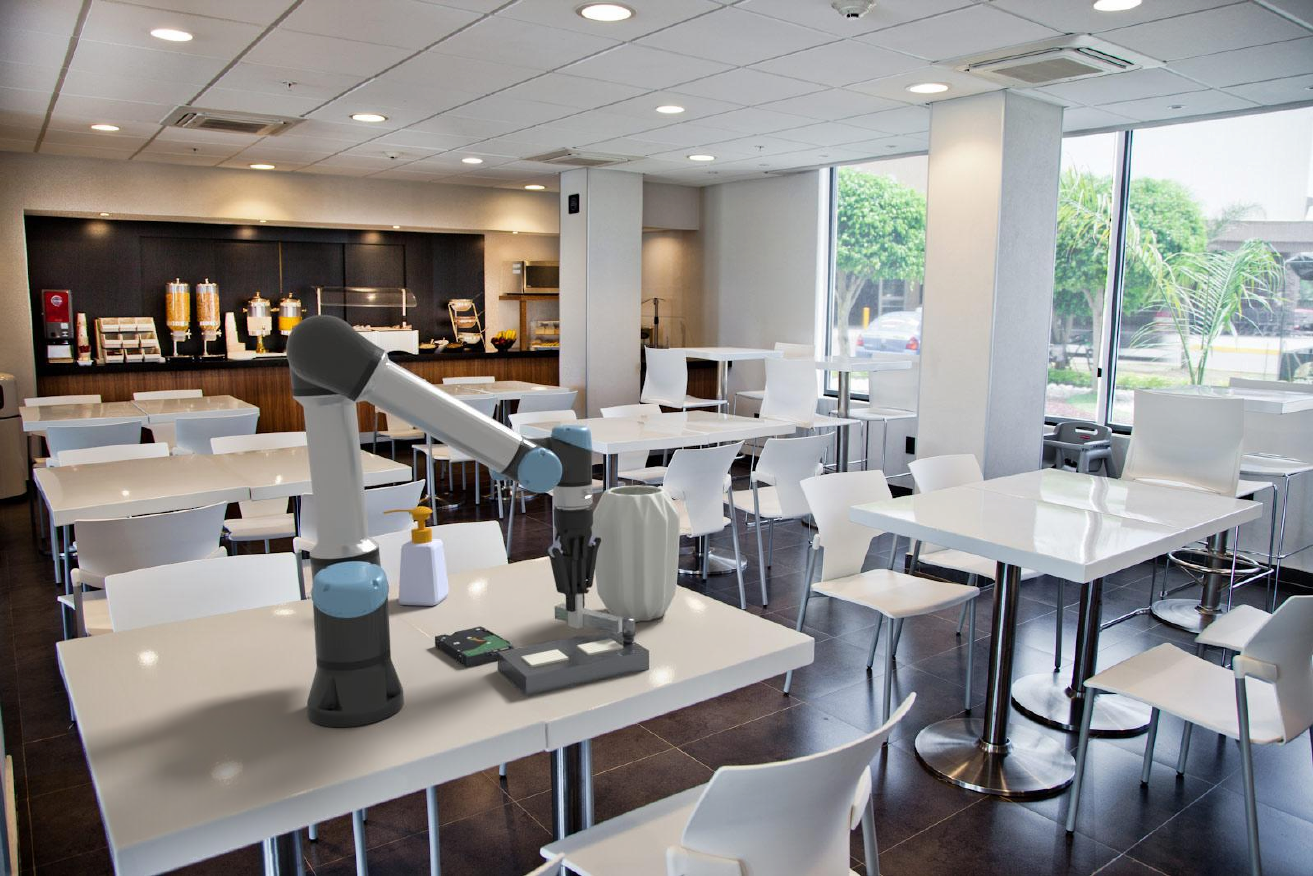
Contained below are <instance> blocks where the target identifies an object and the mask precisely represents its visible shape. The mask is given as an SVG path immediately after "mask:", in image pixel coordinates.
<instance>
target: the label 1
mask: <svg viewBox="0 0 1313 876" xmlns="http://www.w3.org/2000/svg"><path fill="white" fill-rule="evenodd" d="M521 659H522V660H524V661H525V662H526V663H527V664H528V665H530V666H531V667H536V666H541V665H545V664H550V663H555V662H560V661H565V660H569V658H568V657H567V656H566V655H564V654H563V653H562V652H560V651H559V650H557V649H556V650H551V651H546V652H541V653H536V654H531V655H526V656H521Z"/></svg>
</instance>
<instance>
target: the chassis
mask: <svg viewBox="0 0 1313 876" xmlns="http://www.w3.org/2000/svg"><path fill="white" fill-rule="evenodd" d="M606 639H612V640H614V641H615V642H617V643H619V644H620V645H622V646H623V649H618V650H613V651H609V652H604V653H599V654H594V655H587V654H586V653H584V652H583V651H582V650H580V649H579V648H577V645H581V644H586V643H591V642H596V641H601V640H606ZM514 648H515V647H514ZM556 649H557V650H559V651H560V652H562V653H563V654H564V655H566V656H567V657H568V658H569V660H565V661H560V662H555V663H550V664H545V665H541V666H536V667H531V666H530V665H528V664H527V663H526V662H525V661H524V660H522V659H521V656H526V655H531V654H536V653H541V652H546V651H551V650H556ZM497 659H498V660H497V671H498V672H499V673H500V674H501V675H503V676H504V677H505V678H506V680H508V681H509V682H510V683H511V684H512V685H513V686H514V687H516V688H517V689H518V690H519V691H520V692H522V694H523V695H524V696H525V697H529V696H530V697H531V696H534V695H538V694H544V693H548V692H551V691H556V690H557V691H558V690H561V689H566V688H570V687H574V686H579V685H583V684H587V683H593V682H598V681H602V680H605V679H611V678H615V677H620V676H624V675H629V674H633V673H638V672H643V671H646V670H650V650H649V649H647V648H646V647H644V646H642V645H641V644H639V643H637V642H636V641H635V637H633V638H624V637H622V632H620V633H618V634H614V633H610V632H606V631H600V632H594V633H588V634H583V635H580V636H579V635H578V636H573V637H568V638H562V639H559V640H552V641H547V642H541V643H537V644H532V645H527V646H522V647H516V648H515V649H510V650H505V651H500V652H497Z"/></svg>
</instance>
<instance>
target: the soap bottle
mask: <svg viewBox="0 0 1313 876" xmlns="http://www.w3.org/2000/svg"><path fill="white" fill-rule="evenodd" d="M397 512H398V513H399V512H400V513H402V512H407V513H408V514H409V515H412V520H413V521H417V527H415V528H412V529H411V532H410V534H411V540H409V541H407V542H405V543H404V544H402V545H401V549H400V562H399V563H400V566H399V568H400V569H399V585H398V603H399V604H400V605H405V606H426V607H427V606H429V607H430V606H431V607H433V606H436V605H438V604H439V603H441V602H442V601H443V600H445V599H446V598H447V597H448V596H449V594H450V587H449V581H448V573H447V572H448V571H447V564H446V557H445V551H444V544H443V540H442V539H439V538H433V529H432V528H431V527H426V522H425V520H428V519H431V518H430V517H431V516H430V514H432V513H433V510H432V509H431V508H429V507H427V506H423V505H421V506H416V507H413V508H412V509H393V510H386V511H383V512H382V513H383V514H384V515H386V514H391V513H397Z"/></svg>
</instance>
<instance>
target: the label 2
mask: <svg viewBox="0 0 1313 876" xmlns="http://www.w3.org/2000/svg"><path fill="white" fill-rule="evenodd" d="M577 648H579V649H580V650H582V651H583V652H584V653H586V654H587V655H594V654H599V653H604V652H609V651H613V650H618V649H623V646H622V645H620V644H619V643H617V642H615V641H614V640H612V639H606V640H601V641H596V642H591V643H586V644H581V645H577Z"/></svg>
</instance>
